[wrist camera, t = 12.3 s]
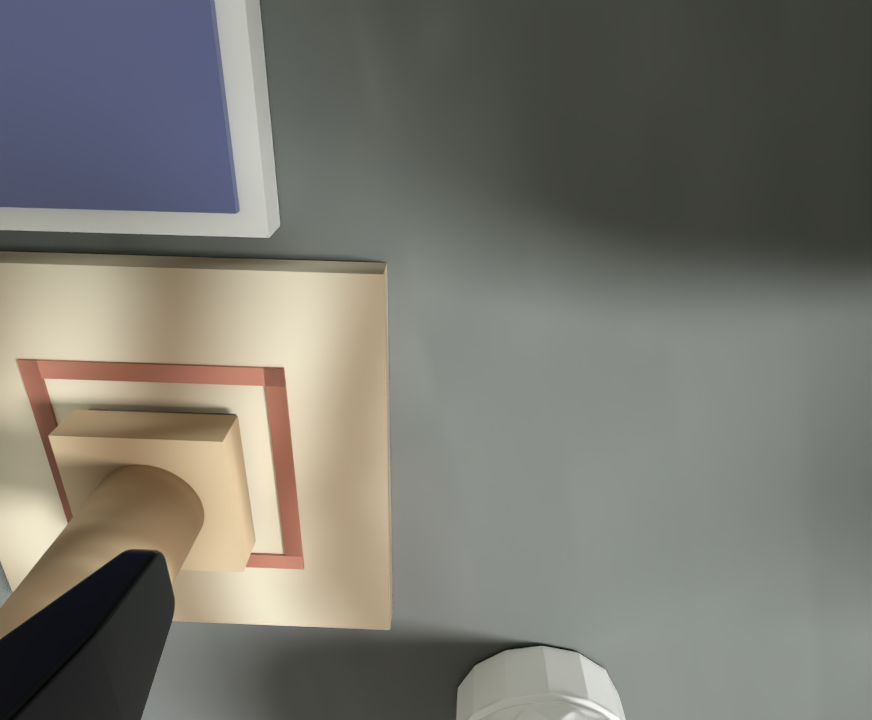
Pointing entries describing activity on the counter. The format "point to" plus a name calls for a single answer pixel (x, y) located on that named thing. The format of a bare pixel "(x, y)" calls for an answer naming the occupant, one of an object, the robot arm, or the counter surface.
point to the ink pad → (135, 118)
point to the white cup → (538, 688)
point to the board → (215, 393)
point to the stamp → (142, 499)
